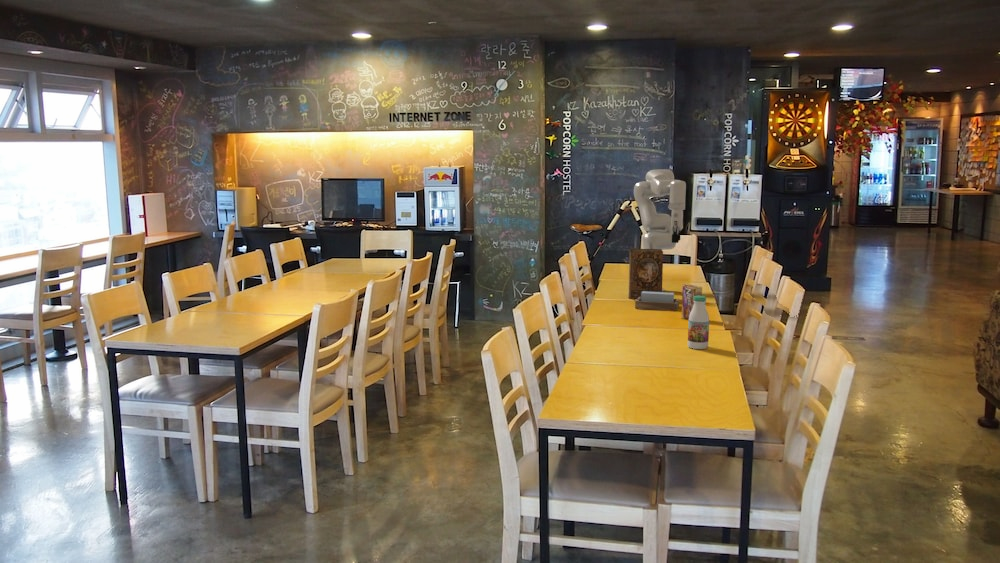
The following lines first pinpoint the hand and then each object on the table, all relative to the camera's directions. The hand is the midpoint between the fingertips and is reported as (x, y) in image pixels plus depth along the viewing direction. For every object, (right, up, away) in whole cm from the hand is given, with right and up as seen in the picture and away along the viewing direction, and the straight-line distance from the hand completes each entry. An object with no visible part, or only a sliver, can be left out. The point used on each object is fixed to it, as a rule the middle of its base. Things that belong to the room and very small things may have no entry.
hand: (675, 241), depth 388 cm
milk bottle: (-10, -45, -83) cm, 95 cm away
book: (-12, -28, +15) cm, 35 cm away
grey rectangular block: (-11, -30, -7) cm, 32 cm away
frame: (-11, -32, -7) cm, 34 cm away
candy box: (-1, -37, -34) cm, 50 cm away
